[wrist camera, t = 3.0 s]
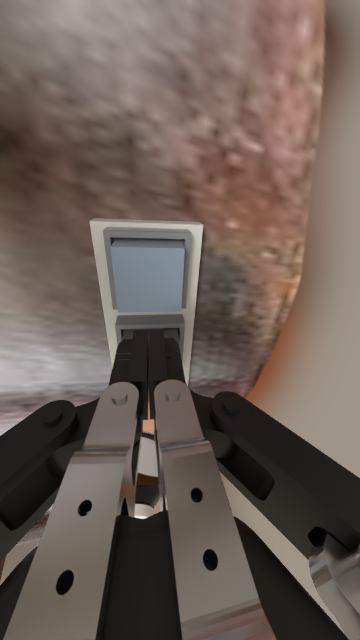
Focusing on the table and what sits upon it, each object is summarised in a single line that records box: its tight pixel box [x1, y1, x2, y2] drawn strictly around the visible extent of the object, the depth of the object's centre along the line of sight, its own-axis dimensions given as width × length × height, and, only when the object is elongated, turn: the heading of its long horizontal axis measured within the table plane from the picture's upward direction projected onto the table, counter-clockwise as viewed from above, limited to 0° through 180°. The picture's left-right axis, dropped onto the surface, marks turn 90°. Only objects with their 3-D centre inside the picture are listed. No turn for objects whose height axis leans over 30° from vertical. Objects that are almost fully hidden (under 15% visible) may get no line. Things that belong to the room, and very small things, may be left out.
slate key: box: [110, 240, 185, 312], centre depth 19 cm, size 6×6×2 cm
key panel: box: [89, 218, 203, 386], centre depth 26 cm, size 26×10×4 cm, turn 177°
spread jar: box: [134, 433, 160, 519], centre depth 36 cm, size 12×11×12 cm
